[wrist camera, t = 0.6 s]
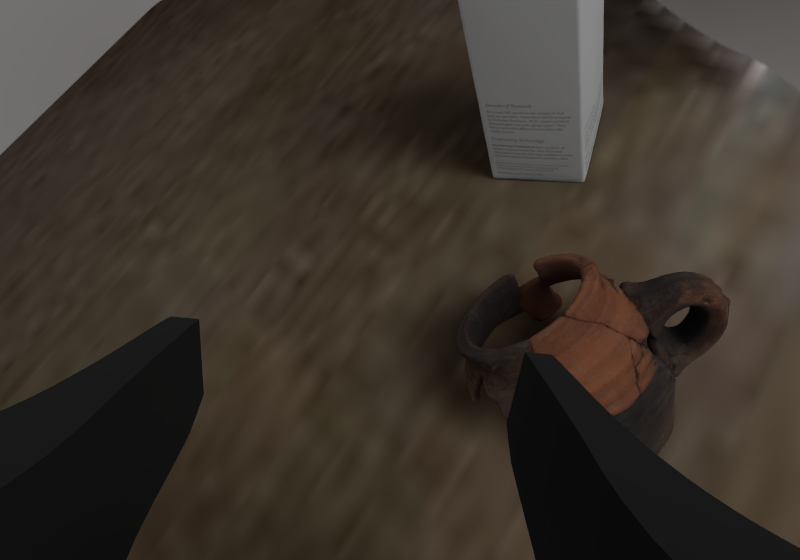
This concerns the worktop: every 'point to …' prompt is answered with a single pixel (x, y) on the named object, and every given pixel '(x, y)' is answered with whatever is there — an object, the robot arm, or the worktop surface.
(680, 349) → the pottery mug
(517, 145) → the skincare box
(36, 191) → the worktop surface
